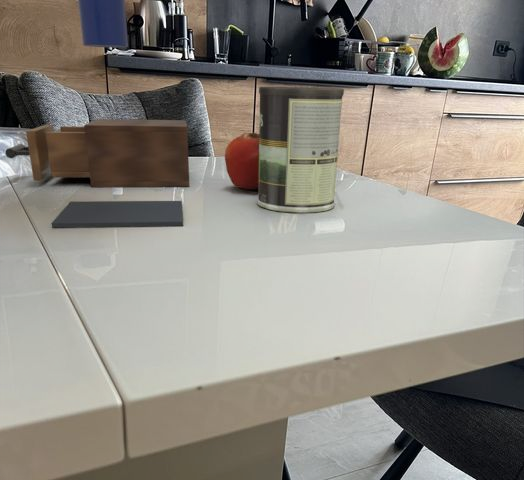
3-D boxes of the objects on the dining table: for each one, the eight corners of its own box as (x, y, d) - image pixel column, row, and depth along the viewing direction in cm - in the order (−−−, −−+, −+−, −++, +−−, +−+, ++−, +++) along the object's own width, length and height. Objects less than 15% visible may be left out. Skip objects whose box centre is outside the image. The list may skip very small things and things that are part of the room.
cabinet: (91, 187, 82) (84, 125, 78) (102, 172, 95) (96, 119, 91) (189, 186, 84) (187, 126, 80) (187, 172, 97) (185, 120, 93)
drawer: (3, 180, 80) (-6, 130, 77) (25, 167, 92) (18, 124, 89) (127, 180, 83) (122, 131, 80) (133, 167, 94) (129, 125, 91)
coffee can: (246, 209, 70) (246, 86, 63) (271, 195, 78) (274, 86, 72) (324, 216, 67) (333, 87, 60) (342, 201, 75) (351, 88, 69)
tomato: (242, 182, 88) (242, 129, 85) (294, 188, 85) (296, 132, 81) (212, 191, 81) (211, 133, 77) (268, 197, 77) (270, 136, 74)
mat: (51, 227, 59) (51, 223, 58) (70, 205, 69) (70, 201, 69) (183, 225, 61) (183, 221, 60) (181, 204, 71) (181, 200, 71)
